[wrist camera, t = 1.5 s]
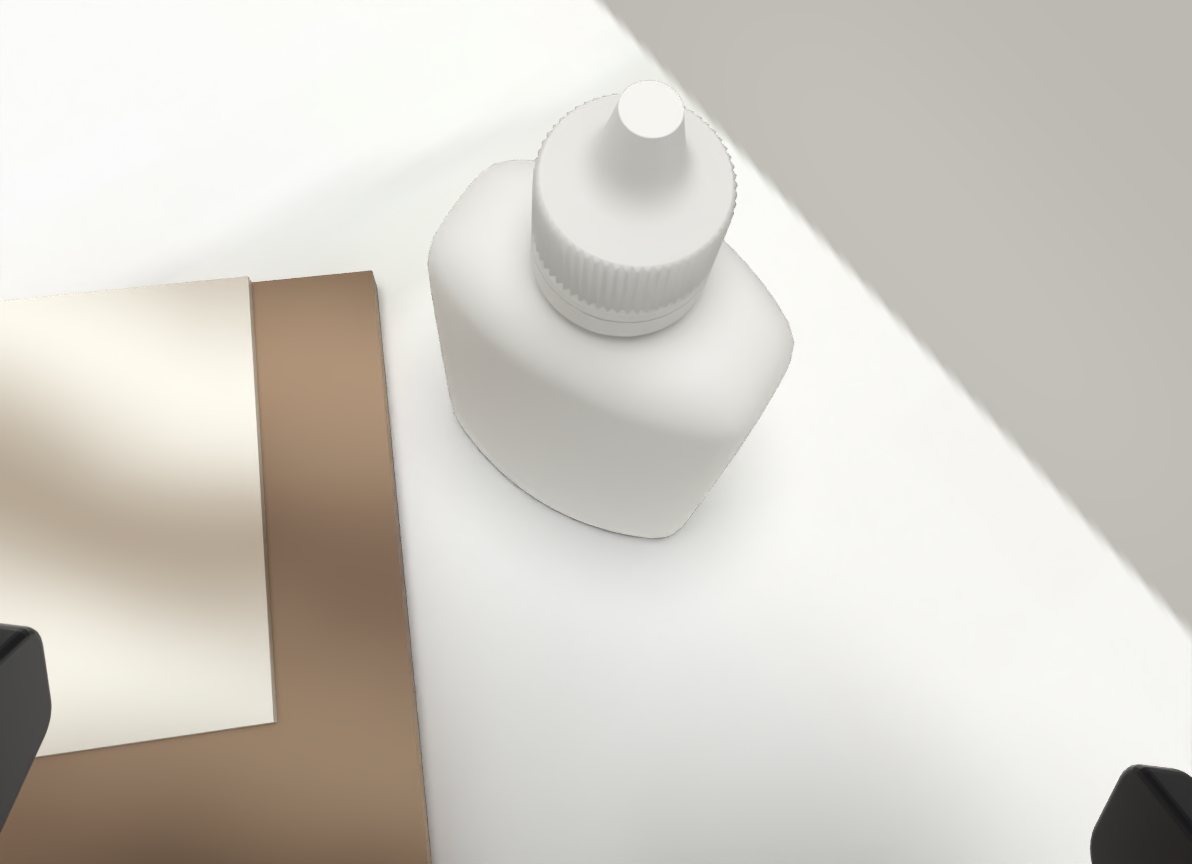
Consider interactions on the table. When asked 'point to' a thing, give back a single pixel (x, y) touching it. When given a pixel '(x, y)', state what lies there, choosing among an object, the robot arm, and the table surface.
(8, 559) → the board
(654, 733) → the table surface
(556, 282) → the eye dropper bottle
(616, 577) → the table surface
